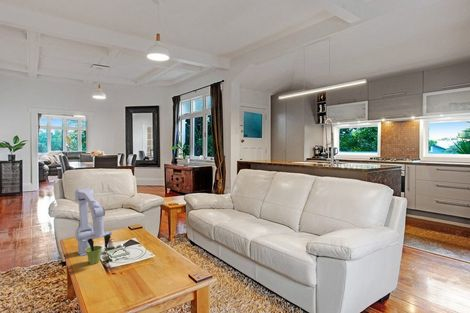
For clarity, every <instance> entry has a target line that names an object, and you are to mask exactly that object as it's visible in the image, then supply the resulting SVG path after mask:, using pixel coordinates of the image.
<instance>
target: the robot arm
mask: <svg viewBox="0 0 470 313" xmlns="http://www.w3.org/2000/svg"><path fill="white" fill-rule="evenodd" d="M93 189H94V188H92V187H90V188H80V189H75V191H74V199H75V202H76V203H78V210H79V226H78V227H77V228H76V229H75V240H76V241H77V246H78V248H77V249H78V250H77V251H76V253H77V254H79V256H80V257H83V256H86V255H87V253H86V251H85V250H86V249H87V248H89V247H91V251H92V252H93V251H94V247H93V246H94V244H95V241H94V239H99V238H103V237H104V248H108V242H109V240H110V239H112V238H111V236H112V235H113V232H112V231H111V230H110V231H105V228H104V227H105V225H104V224H105V222H104V220H105V219H104V216H106V210H105V207H104V206H102V205H100V203H99V202H98V200H96V199H94V192H95V191H94V190H93ZM88 208H89V210H90V215H91V220H92V226H91V225H89V215H88ZM87 256H88V255H87Z"/></svg>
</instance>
